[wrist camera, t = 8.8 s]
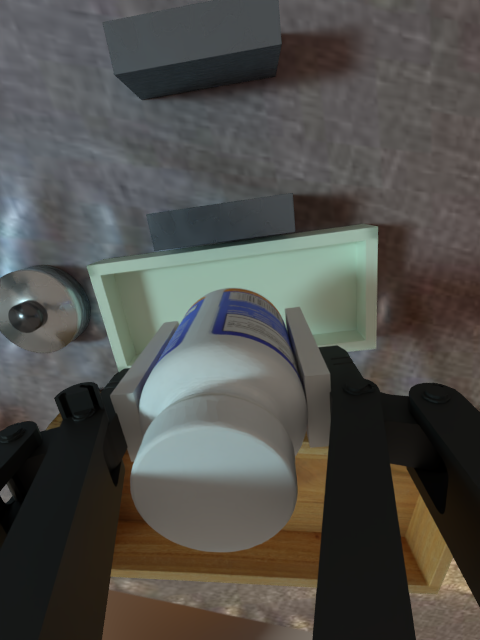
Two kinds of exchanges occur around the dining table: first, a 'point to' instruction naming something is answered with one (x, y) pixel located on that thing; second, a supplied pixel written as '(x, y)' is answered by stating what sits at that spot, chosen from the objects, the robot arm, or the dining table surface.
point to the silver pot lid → (42, 308)
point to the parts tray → (246, 285)
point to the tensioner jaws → (195, 74)
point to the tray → (278, 538)
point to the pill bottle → (221, 427)
